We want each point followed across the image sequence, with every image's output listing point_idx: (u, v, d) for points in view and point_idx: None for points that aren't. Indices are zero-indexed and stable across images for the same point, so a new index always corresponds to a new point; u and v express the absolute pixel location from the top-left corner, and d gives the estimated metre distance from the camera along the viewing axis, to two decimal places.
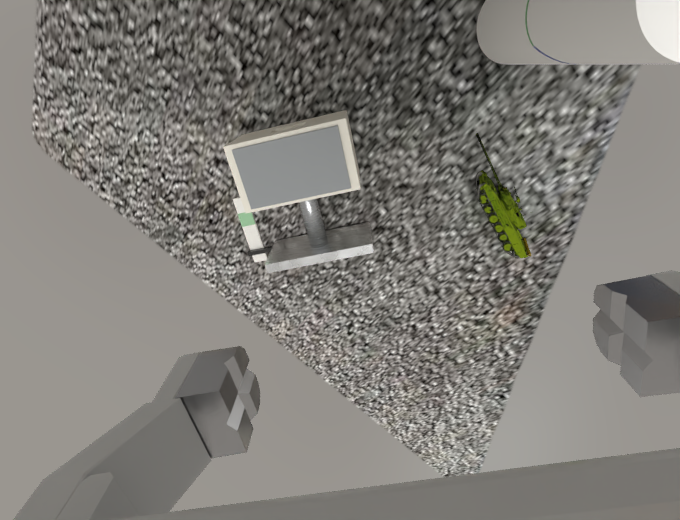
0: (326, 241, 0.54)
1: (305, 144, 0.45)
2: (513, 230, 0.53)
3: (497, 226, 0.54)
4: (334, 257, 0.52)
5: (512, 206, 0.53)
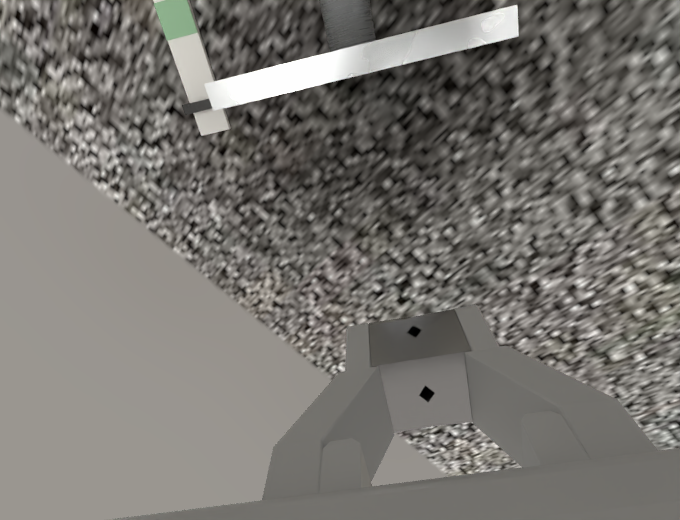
0: (373, 35, 0.20)
1: None
2: None
3: None
4: (401, 55, 0.18)
5: None
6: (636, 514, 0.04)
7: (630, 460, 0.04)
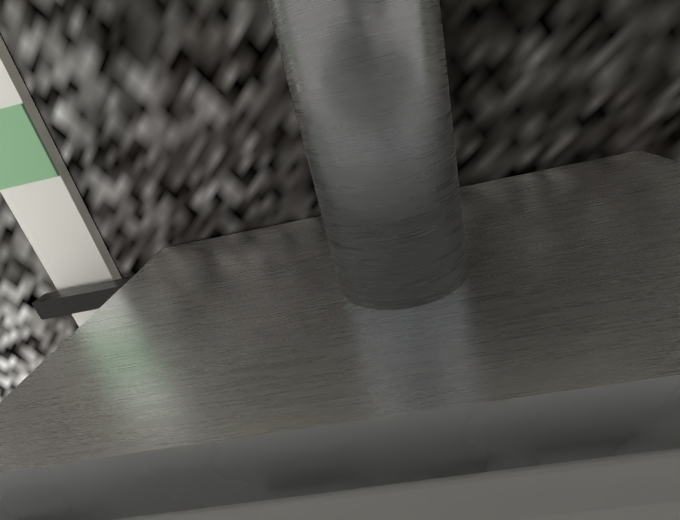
0: (464, 258, 0.07)
1: None
2: None
3: None
4: (614, 437, 0.05)
5: None
6: (636, 514, 0.04)
7: (630, 460, 0.04)
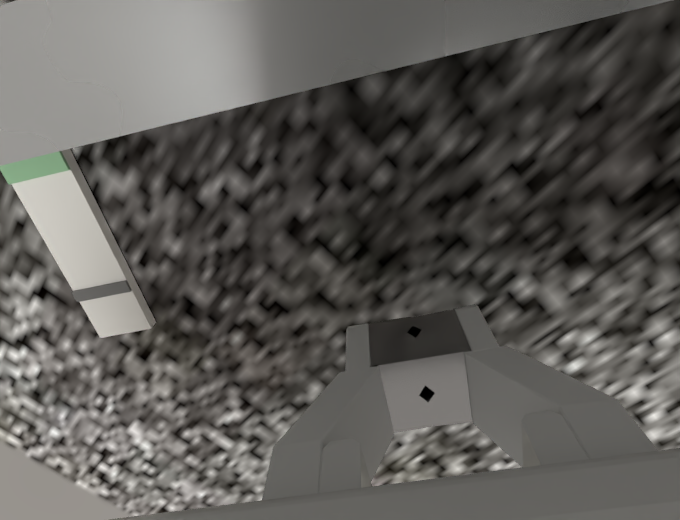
0: None
1: None
2: None
3: None
4: None
5: None
6: (636, 514, 0.04)
7: (630, 460, 0.04)
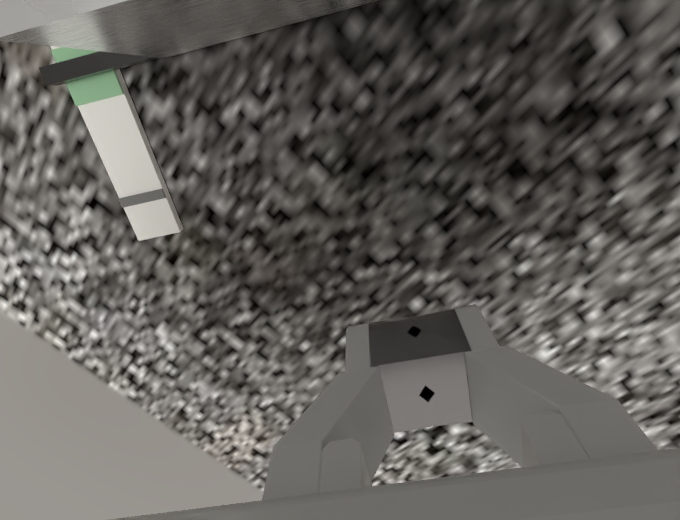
0: None
1: None
2: None
3: None
4: None
5: None
6: (636, 514, 0.04)
7: (630, 460, 0.04)
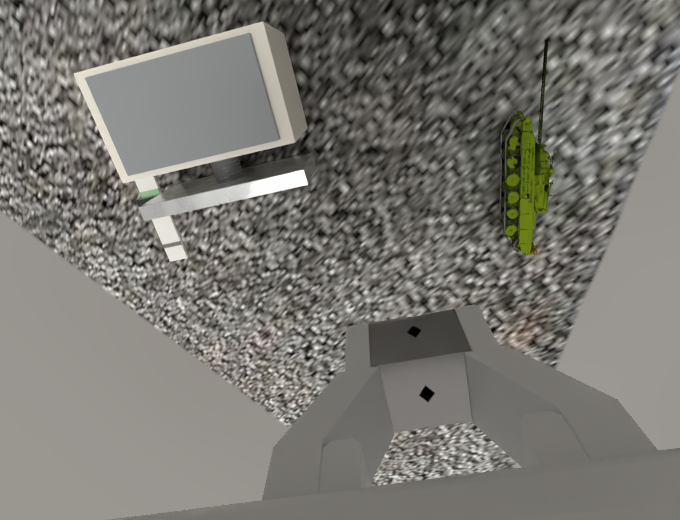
0: (239, 173, 0.35)
1: (200, 66, 0.28)
2: (531, 207, 0.36)
3: (512, 193, 0.36)
4: (246, 193, 0.33)
5: (545, 171, 0.35)
6: (636, 514, 0.04)
7: (630, 460, 0.04)
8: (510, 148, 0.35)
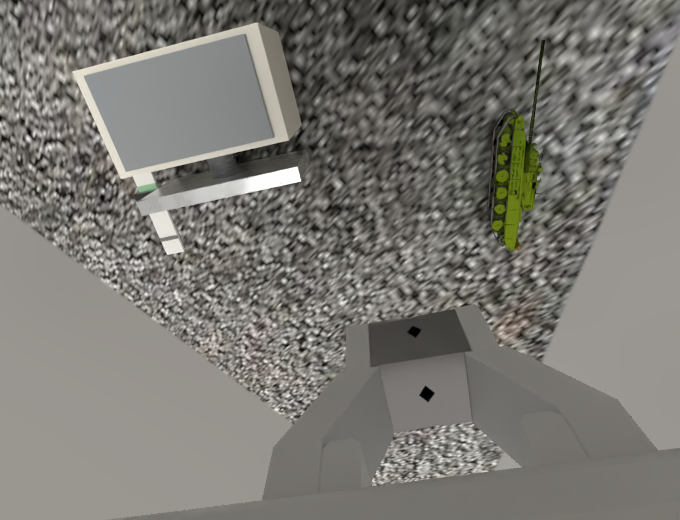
0: (235, 169, 0.36)
1: (196, 65, 0.29)
2: (518, 204, 0.37)
3: (501, 189, 0.37)
4: (241, 189, 0.34)
5: (534, 169, 0.36)
6: (636, 514, 0.04)
7: (630, 460, 0.04)
8: (501, 144, 0.36)
